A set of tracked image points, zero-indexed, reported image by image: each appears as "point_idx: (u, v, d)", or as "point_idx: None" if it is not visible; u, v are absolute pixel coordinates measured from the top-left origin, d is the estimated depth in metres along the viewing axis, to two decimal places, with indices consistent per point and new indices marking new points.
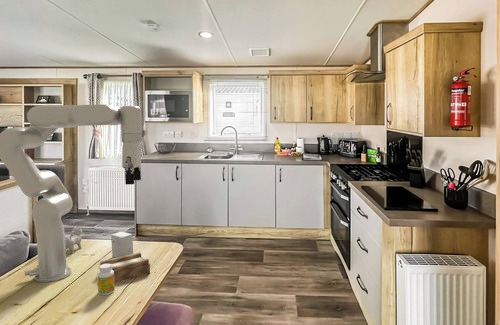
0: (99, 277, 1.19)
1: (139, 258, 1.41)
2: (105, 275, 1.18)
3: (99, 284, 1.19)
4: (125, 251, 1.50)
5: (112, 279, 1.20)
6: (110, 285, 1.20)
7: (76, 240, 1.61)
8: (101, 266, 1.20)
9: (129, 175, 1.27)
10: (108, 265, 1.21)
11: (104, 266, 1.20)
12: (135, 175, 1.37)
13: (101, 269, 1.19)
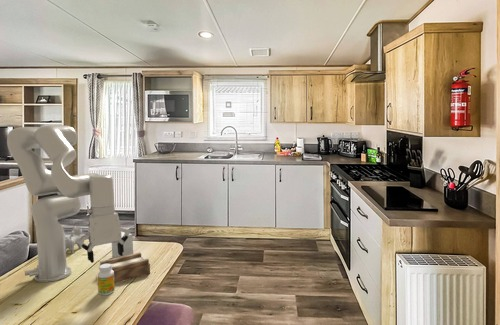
0: (99, 277, 1.19)
1: (139, 258, 1.41)
2: (105, 275, 1.18)
3: (99, 284, 1.19)
4: (125, 251, 1.50)
5: (112, 279, 1.20)
6: (110, 285, 1.20)
7: (76, 240, 1.61)
8: (101, 266, 1.20)
9: None
10: (108, 265, 1.21)
11: (104, 266, 1.20)
12: None
13: (101, 269, 1.19)
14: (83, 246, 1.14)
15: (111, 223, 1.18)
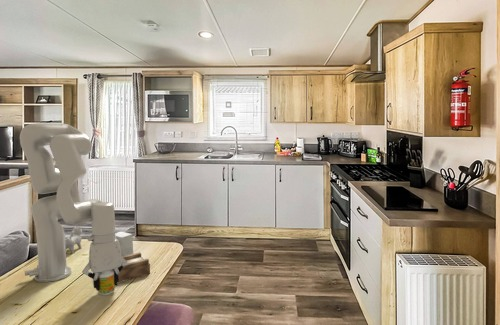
0: (99, 277, 1.19)
1: (139, 258, 1.41)
2: (104, 275, 1.18)
3: (99, 284, 1.19)
4: (125, 251, 1.50)
5: (112, 279, 1.20)
6: (110, 285, 1.20)
7: (76, 240, 1.61)
8: None
9: None
10: None
11: None
12: None
13: None
14: (89, 275, 1.17)
15: (112, 250, 1.19)
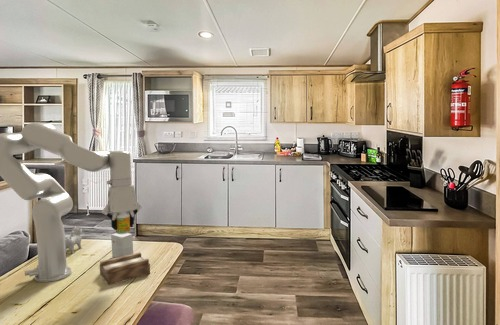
0: (117, 218, 1.31)
1: (139, 258, 1.41)
2: (122, 216, 1.31)
3: None
4: (125, 251, 1.50)
5: (128, 220, 1.33)
6: (127, 225, 1.32)
7: (76, 240, 1.61)
8: None
9: None
10: None
11: None
12: None
13: None
14: (108, 215, 1.30)
15: (128, 194, 1.32)
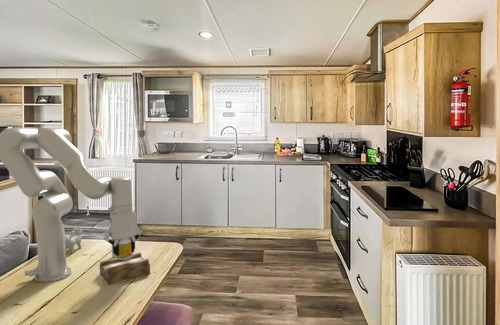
0: (118, 244, 1.33)
1: (139, 258, 1.41)
2: (123, 242, 1.32)
3: (118, 250, 1.33)
4: None
5: (130, 246, 1.34)
6: (128, 251, 1.34)
7: (76, 240, 1.61)
8: None
9: None
10: None
11: None
12: None
13: None
14: (110, 241, 1.31)
15: (129, 220, 1.33)
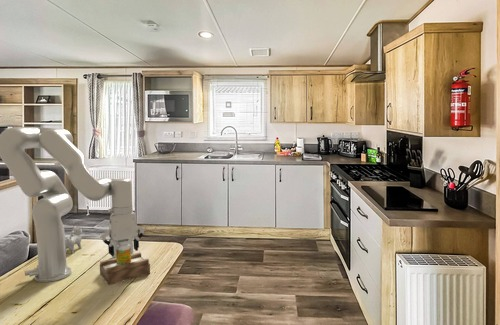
0: (118, 250, 1.33)
1: (139, 258, 1.41)
2: (123, 248, 1.33)
3: (118, 256, 1.33)
4: None
5: (129, 252, 1.35)
6: (128, 257, 1.34)
7: (76, 240, 1.61)
8: None
9: None
10: (126, 240, 1.35)
11: (122, 241, 1.34)
12: None
13: (120, 243, 1.33)
14: (105, 241, 1.30)
15: (129, 221, 1.33)
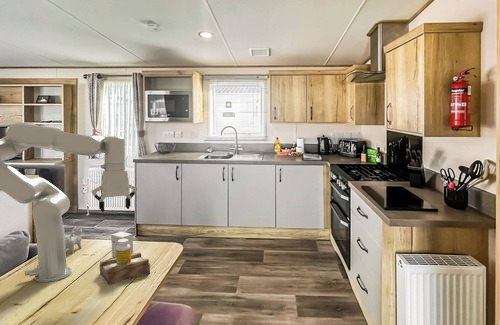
0: (118, 250, 1.33)
1: (139, 258, 1.41)
2: (123, 248, 1.33)
3: (117, 256, 1.33)
4: None
5: (129, 252, 1.35)
6: (127, 257, 1.34)
7: (76, 240, 1.61)
8: (119, 240, 1.34)
9: None
10: (125, 240, 1.35)
11: (122, 241, 1.34)
12: None
13: (119, 243, 1.33)
14: (96, 196, 1.31)
15: (121, 179, 1.34)
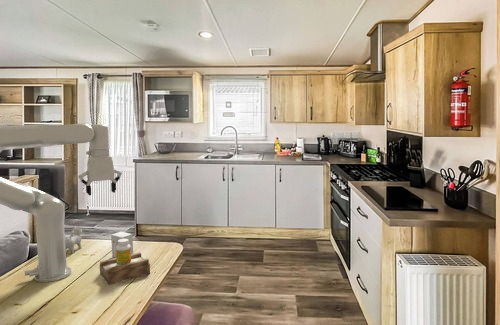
0: (118, 250, 1.33)
1: (139, 258, 1.41)
2: (123, 248, 1.33)
3: (118, 256, 1.33)
4: None
5: (129, 252, 1.35)
6: (128, 257, 1.34)
7: (76, 240, 1.61)
8: (119, 240, 1.34)
9: None
10: (125, 240, 1.35)
11: (122, 241, 1.34)
12: None
13: (119, 243, 1.33)
14: (82, 181, 1.40)
15: (106, 164, 1.43)
